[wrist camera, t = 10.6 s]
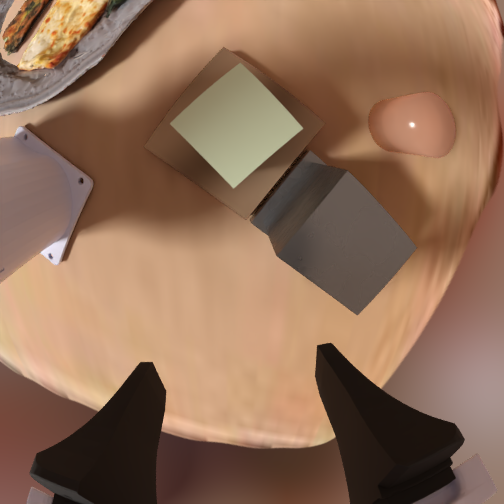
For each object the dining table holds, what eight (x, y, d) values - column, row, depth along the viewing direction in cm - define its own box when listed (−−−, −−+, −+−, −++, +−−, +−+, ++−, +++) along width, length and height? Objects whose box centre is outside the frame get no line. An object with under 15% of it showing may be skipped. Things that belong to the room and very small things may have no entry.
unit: (250, 219, 18) (259, 256, 12) (306, 149, 17) (345, 153, 11) (324, 276, 20) (357, 326, 14) (376, 216, 19) (427, 246, 13)
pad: (148, 146, 16) (143, 147, 15) (223, 52, 14) (223, 47, 13) (245, 216, 18) (246, 219, 17) (320, 124, 16) (325, 123, 15)
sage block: (188, 130, 15) (169, 123, 10) (237, 86, 14) (240, 62, 9) (233, 176, 16) (233, 188, 11) (282, 133, 15) (303, 128, 11)
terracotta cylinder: (358, 124, 16) (397, 120, 12) (387, 89, 15) (428, 79, 11) (394, 162, 17) (436, 171, 13) (419, 128, 16) (463, 129, 12)
